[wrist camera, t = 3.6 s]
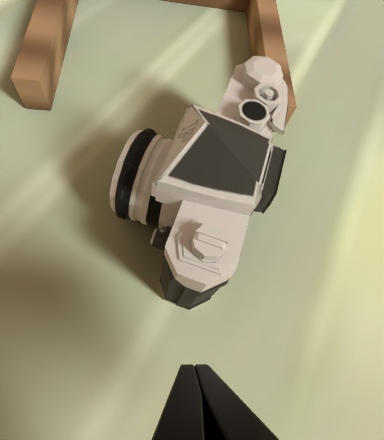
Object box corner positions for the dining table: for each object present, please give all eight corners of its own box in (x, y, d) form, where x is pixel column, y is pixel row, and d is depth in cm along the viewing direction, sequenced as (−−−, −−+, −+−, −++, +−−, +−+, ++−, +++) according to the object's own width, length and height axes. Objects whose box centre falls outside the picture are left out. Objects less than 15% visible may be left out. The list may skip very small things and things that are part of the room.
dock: (281, 131, 28) (296, 107, 25) (25, 108, 25) (10, 77, 22) (261, 3, 36) (270, -26, 33) (64, -25, 33) (57, -60, 30)
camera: (171, 110, 27) (183, -14, 18) (263, 142, 27) (321, 33, 18) (91, 276, 20) (45, 208, 11) (213, 320, 20) (268, 287, 11)
